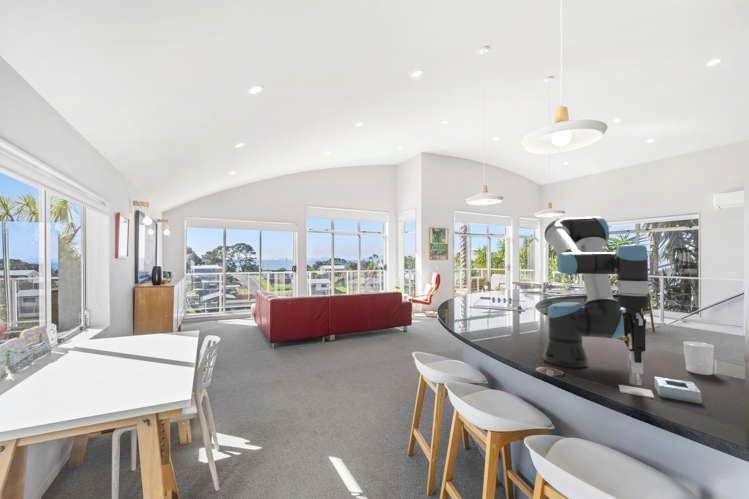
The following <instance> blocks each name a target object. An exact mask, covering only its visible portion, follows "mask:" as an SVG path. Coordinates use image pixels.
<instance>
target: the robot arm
mask: <svg viewBox="0 0 749 499" xmlns="http://www.w3.org/2000/svg"><path fill="white" fill-rule="evenodd" d="M543 234H544V238H545V241H546V242H547V243H548V244H549V245H550V246H552V248H553V249H554V251H555V252H556V254H557V258H556V268H557V270H558V272H559V273H561V274H566V275H567V274H568V275H583V280H584V281H583V282H584V286H585V291H586V292H585V293H586V298H587V300H586V301H585V302H584V304H583V305H582V303H580V302H579V301H578V302H576V301H574V302H573V301H572V302H571V301H567V302H566V301H565V302H558V303H552V304H550V305H549V306H548V308H547V330H548V341H547V344H546V347H545V350H544V352H543V360H544V361H545V362H547V363H548V364H552V365H555V366H559V367H565V368H574V369H575V368H578V369H579V368H586V367H588V366H589V358H588V356H587V353H586V349H585V347H584V346H583V337H585V338H586V337H587V338H599V339H600V338H603V339H605V338H606V339H610V340H611V339H622V336H628V333H631V341H632V349H629V351H631V372H632V373H640V374H641V375H643V374H644V353H645V352H646V342H645V338H646V325H647V319H646V318H644V317H645V316H644V314H643V313H642V310H643V309H645V310H646V309H649V308H650V297H649V296H648V295H649V294H650V288H649V287H650V285H649V284H650V282H649V268H648V266H649V265H648V262H649V260H648V259H649V255H648V250H647V249H648V248H647V246H646V245H643V244H624V245H623V244H622V245H618V246H616V251H613V252H612V251H608V252H607V251H604V248H603V247H605V245H606V243H607V242H608V240H609V238H610V228H609V225H608V222H607V221H606V220H605V219H604V218H603V217H601V216H592V215H590V216H579V217H578V216H577V217H576V216H575V217H561V218H557V219H555V220H553V221H551V222H550V223H549V224H548V225H547V226H546V227H545V230H544V232H543ZM609 275H617V279H616V280H617V283H615V286H616V287H617V293H619V294H618V295H617V299H615V298H614V295H613V289H612V287H611V286H612V284H611V281H610V277H609ZM624 343H625V344H626V345H625V346H626V354H627V369H628V370H629V358H628V341H624Z"/></svg>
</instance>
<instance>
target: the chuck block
mask: <svg viewBox="0 0 749 499" xmlns="http://www.w3.org/2000/svg"><path fill="white" fill-rule="evenodd" d="M654 388H655V391H656V392H657V395H658V396H659V397H661V398H666V399H671V400H677V401H683V402H688V403H695V404H702V402H703V401H702V392H701V391H700V389H699V387H698V386H697V385H696V384H695V383H694V381H686V380H681V379H675V378H674V379H672V378H666V377H659V376H654Z"/></svg>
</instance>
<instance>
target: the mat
mask: <svg viewBox="0 0 749 499" xmlns="http://www.w3.org/2000/svg"><path fill="white" fill-rule="evenodd" d="M618 388H619V392H620V393H622V394H629V395H632V396H633V395H634V396H639V397H645V398H650V399H655V395H654V393H653V391H652V389H648V388H642V387H637V386H636V387H634V386H629V385H623V384H618Z"/></svg>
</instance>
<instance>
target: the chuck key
mask: <svg viewBox="0 0 749 499" xmlns="http://www.w3.org/2000/svg"><path fill="white" fill-rule="evenodd" d="M621 341H624V342H625V341H628V347H627V348H628V358H629V369H628V380H629V381H628V383H629V384H632V385H634V386H635V385H636V386H641V385H643V383H642V380H643V379H642V377H643V376H642V374H640V373H632V372H631V351H629V349H632V341H631V333H628V336H622V338H621ZM645 343H648V339H647V337H645Z"/></svg>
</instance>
